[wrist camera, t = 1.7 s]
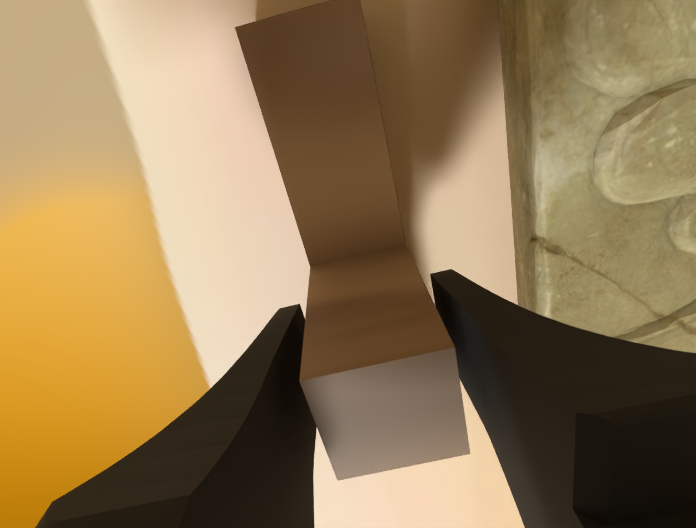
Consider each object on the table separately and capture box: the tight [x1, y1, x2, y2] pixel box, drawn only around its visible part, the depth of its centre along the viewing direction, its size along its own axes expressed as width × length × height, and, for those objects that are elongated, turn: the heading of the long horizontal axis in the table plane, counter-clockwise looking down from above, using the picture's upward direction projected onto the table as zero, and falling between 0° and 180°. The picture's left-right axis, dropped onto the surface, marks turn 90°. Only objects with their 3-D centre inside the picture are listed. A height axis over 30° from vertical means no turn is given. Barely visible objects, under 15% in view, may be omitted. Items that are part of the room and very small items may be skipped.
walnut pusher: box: [235, 0, 470, 480], centre depth 11 cm, size 16×3×8 cm, turn 13°
